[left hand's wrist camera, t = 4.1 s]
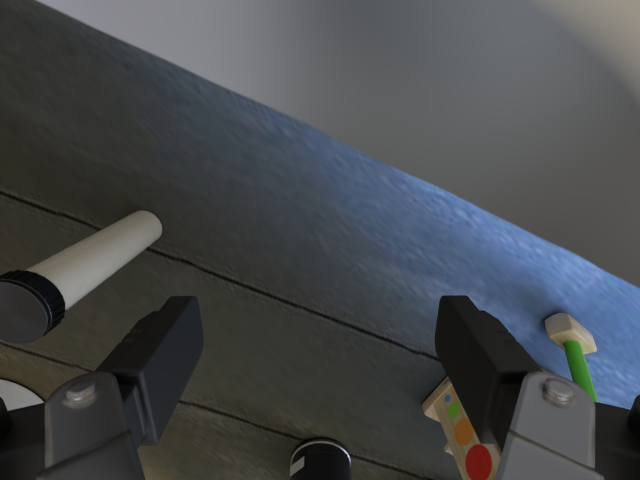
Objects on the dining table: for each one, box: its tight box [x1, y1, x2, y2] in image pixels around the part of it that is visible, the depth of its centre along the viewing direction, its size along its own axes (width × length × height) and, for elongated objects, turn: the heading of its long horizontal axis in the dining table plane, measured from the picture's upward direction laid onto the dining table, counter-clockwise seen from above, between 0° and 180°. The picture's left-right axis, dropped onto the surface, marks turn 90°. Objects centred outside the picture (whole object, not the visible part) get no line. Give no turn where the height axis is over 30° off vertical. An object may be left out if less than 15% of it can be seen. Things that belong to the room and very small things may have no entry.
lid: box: [0, 270, 66, 343], centre depth 24 cm, size 5×5×2 cm
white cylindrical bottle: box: [24, 210, 162, 310], centre depth 32 cm, size 4×4×19 cm
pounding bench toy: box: [422, 313, 598, 480], centre depth 40 cm, size 23×14×18 cm, turn 149°
